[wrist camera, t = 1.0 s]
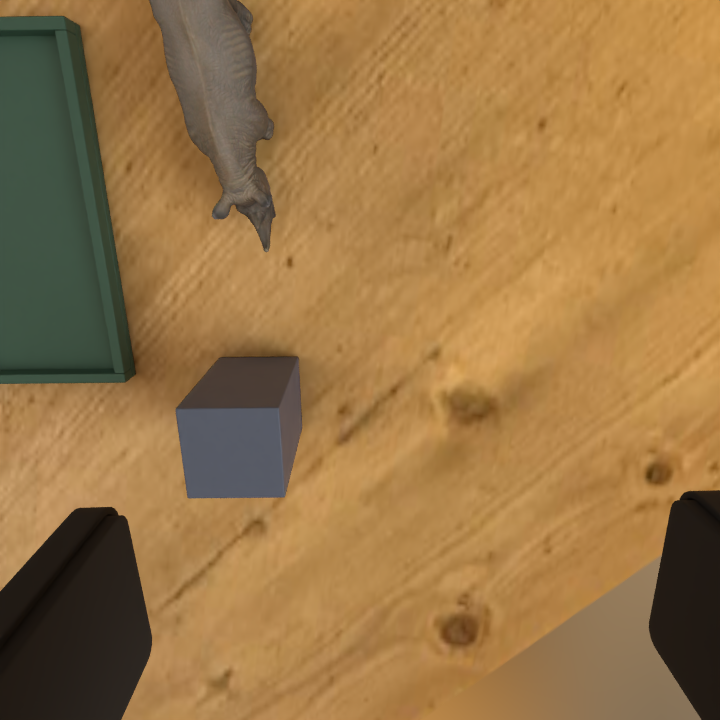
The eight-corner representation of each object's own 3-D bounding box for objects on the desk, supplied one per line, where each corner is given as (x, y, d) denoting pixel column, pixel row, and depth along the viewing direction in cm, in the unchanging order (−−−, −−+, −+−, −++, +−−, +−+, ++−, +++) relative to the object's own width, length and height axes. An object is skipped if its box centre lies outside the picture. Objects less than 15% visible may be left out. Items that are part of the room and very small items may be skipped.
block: (219, 357, 32) (174, 408, 24) (298, 356, 32) (279, 407, 24) (226, 429, 33) (187, 499, 26) (302, 428, 33) (285, 497, 26)
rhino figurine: (237, 254, 30) (208, 268, 24) (164, -18, 25) (108, -78, 20) (305, 240, 29) (292, 251, 24) (243, -36, 25) (208, -104, 19)
